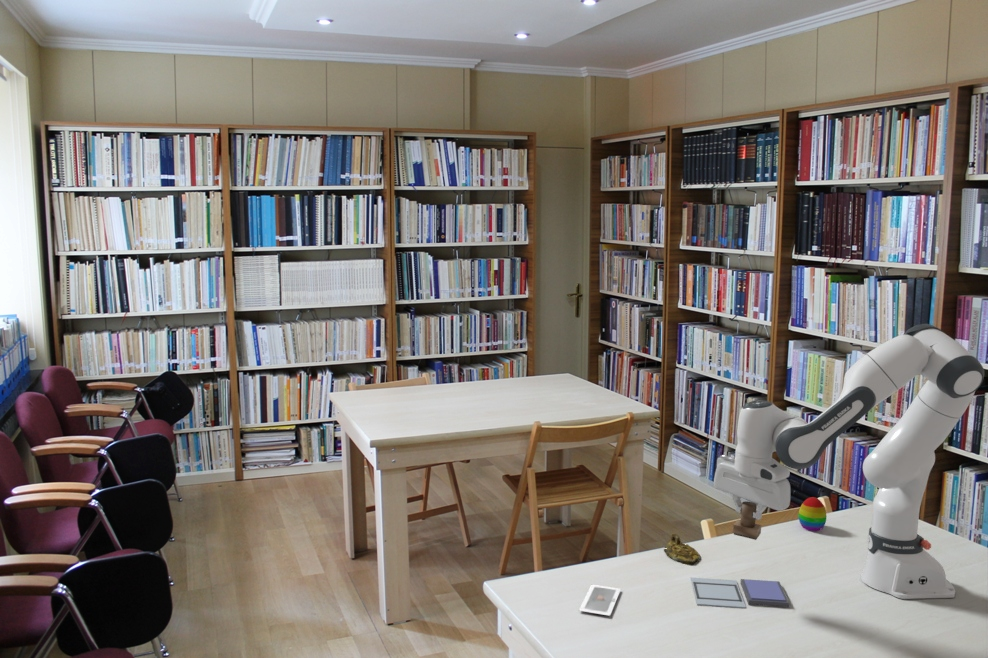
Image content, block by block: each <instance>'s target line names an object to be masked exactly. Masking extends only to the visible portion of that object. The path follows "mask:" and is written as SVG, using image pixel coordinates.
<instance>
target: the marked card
mask: <svg viewBox="0 0 988 658" xmlns="http://www.w3.org/2000/svg"><path fill="white" fill-rule="evenodd" d="M690 582H691V586H692V591H693V594H694V598H695V603H696V606H706V607H707V606H708V607H720V608H721V607H722V608H734V609H735V608H737V609H747V606H746V604H745V602H744V601H745V600H744V598H743V596H742V593H741V591H740V588H739V585H738V583H737V580H736V579H722V578H721V579H719V578H704V577H692V576H691V577H690Z"/></svg>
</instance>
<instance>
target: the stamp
mask: <svg viewBox="0 0 988 658" xmlns="http://www.w3.org/2000/svg"><path fill="white" fill-rule="evenodd" d="M741 503H742V509H741V513H740V519H737V520H736V521H735V523H734V524H733V529H732V533H733V535H735V536H739V537H742V538H746V539H751V540H754V541H757V539H758V538H759V536H760V535H761V532H762V524H760V523H759V524H758V523H756V521H757V520H756V519H754V518H753V512H755V511H757V510H758V509H757V508H758V507H757V505H758V503H755V502H752V501H749V500H745V501H743V502H742V501H741Z"/></svg>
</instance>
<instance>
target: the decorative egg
mask: <svg viewBox="0 0 988 658" xmlns="http://www.w3.org/2000/svg"><path fill="white" fill-rule="evenodd" d="M826 511H827V510H826V507H825V505H824V504H823V502H822V501H821V499H819V498H818V497H814V496H812V497H808V498H806V499H805V500H804V501H803V503H801V505H800V508H799V511H798V520H799V521H798V522H799V524H800V526H801V527H802V528H803V529H805V530H806V531H807V530H808V531H811V532H818V531H821V530H822V529H823V528H824V527H825V525H826V522H827V512H826Z"/></svg>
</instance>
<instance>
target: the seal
mask: <svg viewBox="0 0 988 658" xmlns="http://www.w3.org/2000/svg"><path fill="white" fill-rule="evenodd" d="M685 544H686V543H683V542H681V537H680V536H679V535H678V534H677V533H676V532H673V533H671V535H670V540H669V542H668V543H666V545H665V546H664V548H667V549H663V552H664V553H665V555H666V557H668V558H669V559H670V560H671V561H675V562H677V563H680V564H685V565H687V566H688V565H689V566H690V565H694V564H695V563H698V562H699V560H700V558H701V555H700V553H699V552H698V551H697V550H696V549H695V548H693V547H692V546H690V545H689V544H688V543H687V544H686V545H685Z"/></svg>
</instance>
